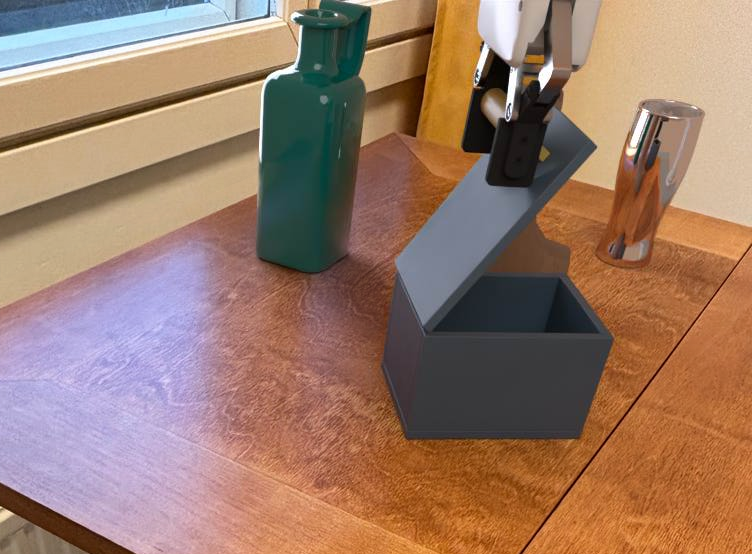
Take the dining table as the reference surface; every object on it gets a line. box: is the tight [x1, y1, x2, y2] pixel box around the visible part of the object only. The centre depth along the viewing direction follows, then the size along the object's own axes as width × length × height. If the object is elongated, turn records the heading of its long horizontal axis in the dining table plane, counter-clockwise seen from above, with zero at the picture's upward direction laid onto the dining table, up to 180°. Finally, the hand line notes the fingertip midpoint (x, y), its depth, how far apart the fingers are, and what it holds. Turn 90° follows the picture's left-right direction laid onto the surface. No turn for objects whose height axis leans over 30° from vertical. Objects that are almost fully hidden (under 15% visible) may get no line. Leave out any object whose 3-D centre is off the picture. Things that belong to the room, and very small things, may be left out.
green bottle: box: [254, 0, 373, 274], centre depth 89 cm, size 10×8×22 cm
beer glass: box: [595, 98, 706, 269], centre depth 95 cm, size 7×7×15 cm
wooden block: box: [486, 83, 571, 275], centre depth 86 cm, size 9×4×18 cm, turn 75°
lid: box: [393, 88, 598, 332], centre depth 64 cm, size 15×12×5 cm
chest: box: [380, 269, 615, 440], centre depth 73 cm, size 15×12×9 cm
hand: (494, 165), depth 63 cm, fingers closed on lid, 6 cm apart
